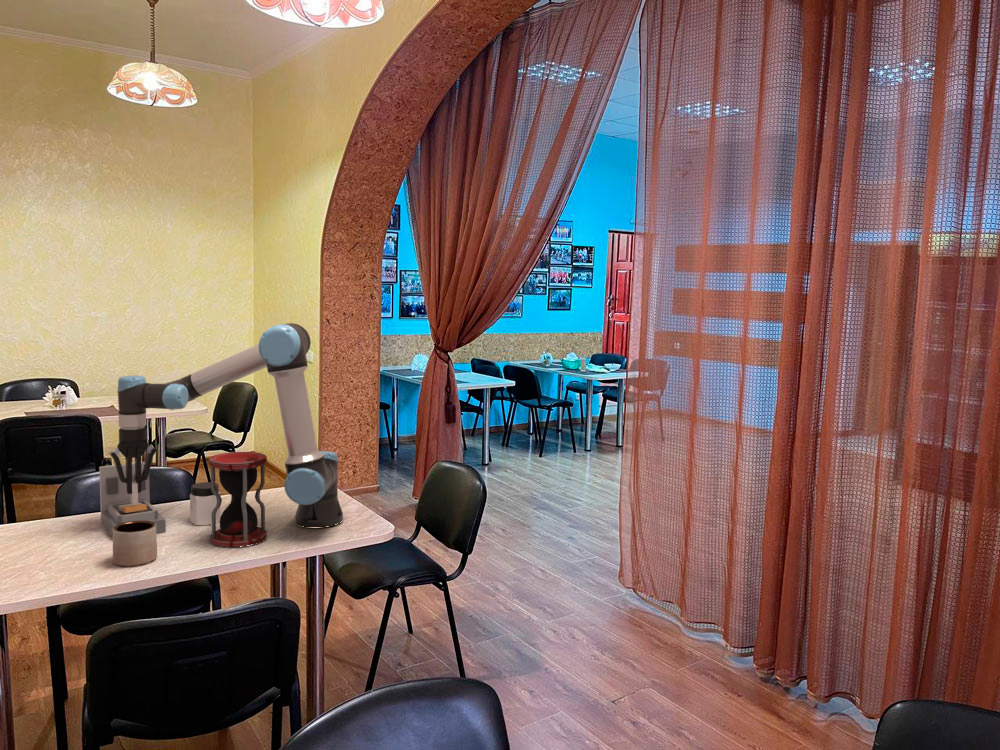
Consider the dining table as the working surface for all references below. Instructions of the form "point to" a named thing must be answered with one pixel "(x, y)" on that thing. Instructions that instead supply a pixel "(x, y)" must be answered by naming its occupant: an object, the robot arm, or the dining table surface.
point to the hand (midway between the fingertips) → (134, 503)
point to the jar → (203, 503)
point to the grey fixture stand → (125, 500)
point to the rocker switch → (132, 507)
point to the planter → (134, 543)
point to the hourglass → (238, 499)
